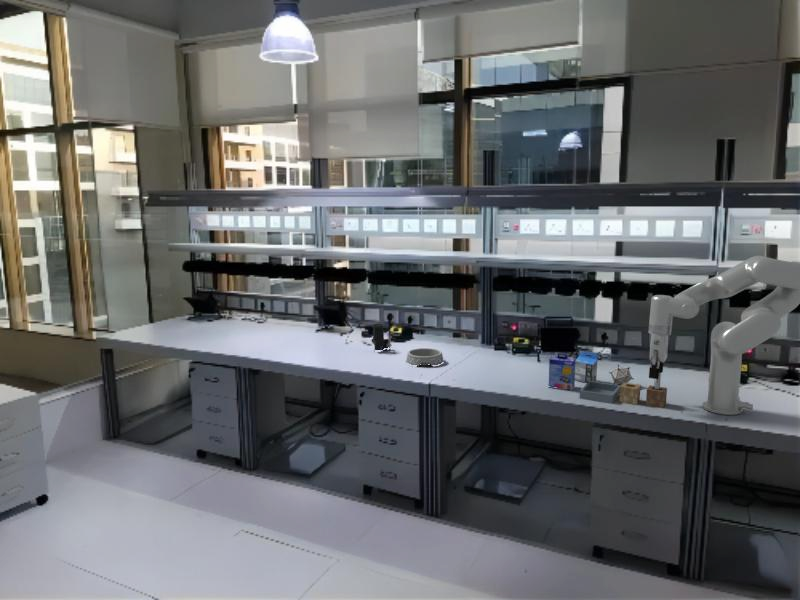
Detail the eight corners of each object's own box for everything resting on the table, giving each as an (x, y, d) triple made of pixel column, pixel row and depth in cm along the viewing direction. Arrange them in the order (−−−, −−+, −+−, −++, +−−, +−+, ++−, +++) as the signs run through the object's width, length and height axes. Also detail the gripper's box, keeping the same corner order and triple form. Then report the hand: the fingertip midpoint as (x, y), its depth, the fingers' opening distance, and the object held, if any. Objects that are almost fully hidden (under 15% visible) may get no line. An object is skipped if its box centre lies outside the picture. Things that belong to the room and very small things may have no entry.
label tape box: (572, 380, 245) (573, 351, 243) (578, 378, 248) (579, 350, 246) (591, 384, 238) (592, 355, 237) (596, 382, 241) (598, 353, 239)
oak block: (639, 400, 219) (640, 384, 218) (636, 404, 214) (637, 389, 213) (622, 397, 222) (623, 382, 221) (619, 402, 217) (620, 386, 216)
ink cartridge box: (547, 388, 235) (548, 353, 232) (549, 384, 240) (550, 350, 237) (573, 390, 231) (574, 355, 229) (574, 386, 236) (576, 352, 234)
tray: (620, 393, 227) (620, 385, 227) (612, 403, 215) (612, 395, 215) (589, 388, 233) (589, 381, 233) (579, 398, 222) (579, 390, 221)
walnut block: (666, 403, 215) (667, 387, 214) (663, 408, 210) (664, 392, 209) (648, 400, 218) (649, 385, 217) (645, 405, 213) (646, 389, 212)
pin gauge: (659, 404, 214) (661, 372, 212) (658, 405, 213) (660, 373, 211) (653, 403, 215) (655, 371, 213) (652, 404, 214) (654, 373, 212)
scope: (391, 323, 298) (380, 327, 290) (391, 349, 301) (381, 354, 292) (378, 322, 303) (367, 325, 294) (378, 348, 305) (367, 352, 296)
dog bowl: (445, 367, 267) (445, 356, 266) (405, 368, 267) (405, 356, 266) (443, 358, 284) (443, 347, 283) (405, 358, 284) (405, 347, 283)
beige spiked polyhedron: (616, 392, 240) (609, 369, 244) (637, 387, 236) (630, 364, 241) (611, 387, 233) (605, 364, 237) (633, 381, 229) (626, 358, 234)
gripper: (667, 335, 200) (663, 383, 203) (674, 326, 215) (670, 371, 218) (644, 332, 204) (640, 379, 207) (652, 324, 219) (648, 368, 222)
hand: (655, 375), depth 212 cm, fingers open, 9 cm apart
